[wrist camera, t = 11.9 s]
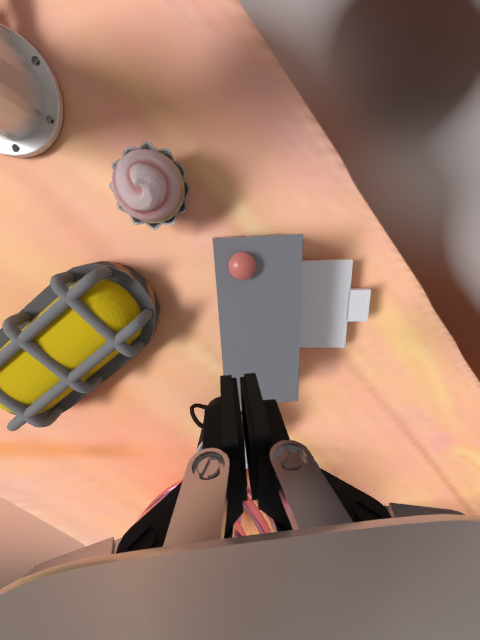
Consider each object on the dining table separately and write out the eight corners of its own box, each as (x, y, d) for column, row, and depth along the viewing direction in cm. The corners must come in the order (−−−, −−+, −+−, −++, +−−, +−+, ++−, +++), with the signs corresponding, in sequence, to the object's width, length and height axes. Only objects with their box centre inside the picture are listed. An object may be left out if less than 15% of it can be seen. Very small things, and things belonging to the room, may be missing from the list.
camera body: (214, 237, 37) (212, 239, 27) (283, 233, 38) (307, 234, 27) (225, 385, 45) (228, 430, 35) (282, 380, 46) (301, 422, 36)
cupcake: (108, 178, 34) (66, 157, 24) (168, 140, 33) (148, 102, 23) (150, 242, 37) (127, 245, 27) (206, 209, 36) (202, 200, 26)
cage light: (-82, 391, 33) (81, 241, 29) (-26, 362, 40) (109, 239, 36) (17, 456, 37) (171, 333, 33) (51, 418, 45) (179, 315, 41)
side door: (285, 260, 38) (375, 257, 36) (284, 259, 39) (371, 256, 38) (284, 349, 42) (364, 349, 41) (284, 345, 44) (361, 345, 42)
